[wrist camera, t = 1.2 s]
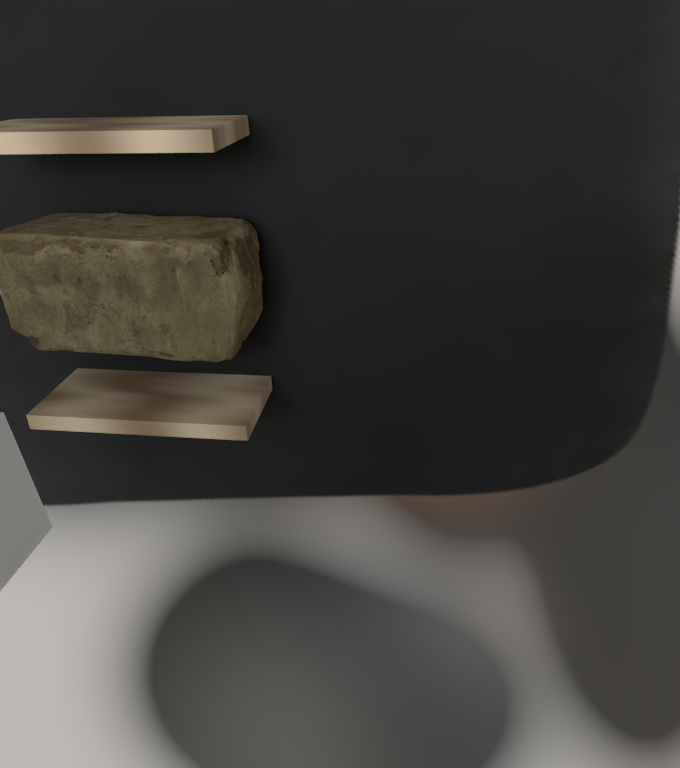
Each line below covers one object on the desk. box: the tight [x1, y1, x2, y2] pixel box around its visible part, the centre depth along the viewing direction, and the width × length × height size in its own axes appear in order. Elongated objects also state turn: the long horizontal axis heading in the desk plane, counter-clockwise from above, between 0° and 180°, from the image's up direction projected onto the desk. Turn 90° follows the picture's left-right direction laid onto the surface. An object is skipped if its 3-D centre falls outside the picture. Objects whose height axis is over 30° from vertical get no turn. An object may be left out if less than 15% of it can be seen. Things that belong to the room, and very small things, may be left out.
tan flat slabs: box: [0, 115, 272, 441], centre depth 29 cm, size 11×14×5 cm
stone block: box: [0, 212, 263, 362], centre depth 29 cm, size 6×12×5 cm, turn 91°
